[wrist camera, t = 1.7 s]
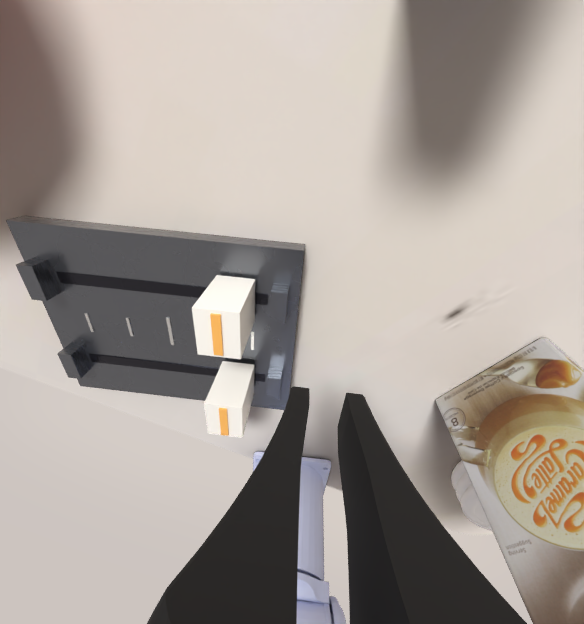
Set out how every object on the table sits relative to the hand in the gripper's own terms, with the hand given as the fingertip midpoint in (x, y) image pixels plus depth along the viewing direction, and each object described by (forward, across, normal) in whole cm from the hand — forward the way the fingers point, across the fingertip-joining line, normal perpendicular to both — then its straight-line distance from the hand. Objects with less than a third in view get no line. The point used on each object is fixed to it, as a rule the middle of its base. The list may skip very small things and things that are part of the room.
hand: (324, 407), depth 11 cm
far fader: (+8, +5, +7) cm, 12 cm away
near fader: (+8, +5, 0) cm, 10 cm away
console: (+9, +10, +4) cm, 15 cm away
